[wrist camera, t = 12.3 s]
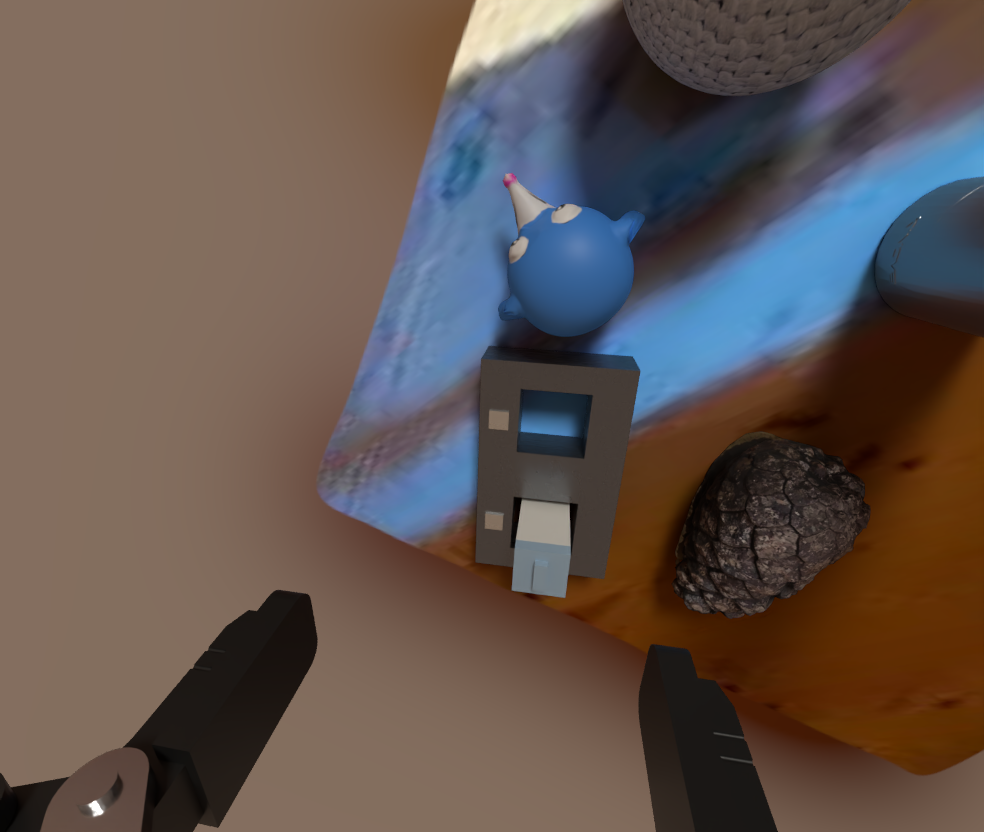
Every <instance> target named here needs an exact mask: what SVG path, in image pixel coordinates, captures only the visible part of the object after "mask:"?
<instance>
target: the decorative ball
mask: <svg viewBox="0 0 984 832" xmlns="http://www.w3.org/2000/svg"><path fill="white" fill-rule="evenodd" d="M622 1H623V5H624V8H625V11H626V14H627V17H628V20H629V22H630V25H631V27H632V29H633V32H634V34H635V35H636V37H637V39H638V41H639V42H640V44H641V46H642V47H643V49H644V50H645V52H646V53H647V54H648V55H649V57H650V58H651V59H652V60H653V61H654V63H655V64H656V65H657V66H658V67H659V68H660V69H662V70H663V71H664V72H665V73H666V74H668V75H669V76H670V77H672V78H673V79H675V80H676V81H678V82H680V83H682V84H684V85H686V86H688V87H690V88H693V89H696V90H699V91H702V92H706V93H710V94H716V95H723V96H744V95H753V94H759V93H764V92H769V91H773V90H777V89H780V88H783V87H786V86H789V85H792V84H795V83H797V82H800V81H802V80H804V79H807V78H809V77H811V76H813V75H815V74H817V73H819V72H821V71H823V70H825V69H826V68H828V67H830V66H832V65H833V64H835V63H837V62H838V61H840V60H841V59H843V58H845V57H846V56H848V55H849V54H850V53H852V52H853V51H855V50H856V49H857V48H859V47H860V46H861V45H863V44H864V43H865V42H867V41H868V40H869V39H870V38H872V37H873V36H874V35H875V34H877V33H878V32H879V31H880V30H881V29H882V28H883V27H885V26H886V25H887V24H888V23H889V22H890V21H891V20H892V19H893V18H894V17H895V16H896V15H897V14H898V13H899V12H901V10H902V9H903V8H904V7H905V6H906V5H907V4H908V3H909V2H910V1H911V0H622Z"/></svg>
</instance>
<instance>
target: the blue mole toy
mask: <svg viewBox="0 0 984 832" xmlns="http://www.w3.org/2000/svg"><path fill="white" fill-rule="evenodd" d="M503 182H504V185H505V187H506V188H507V189H508V190H509V192H510V196H511V199H512V203H513V207H514V212H515V217H516V223H517V228H518V239H517V240H515V241H514V242H513V243H512V245H511V247H510V250H509V263H508V283H509V288H510V292H511V296H510V298H509V299H507V300H505V301H503V302H502V303H501V304H500V306H499V308H498V311H499V316H500V319H501V320H512V319H519V318H526V319H527V320H528V321H529V322H530V323H531V324H533V325H534V326H535V327H537V328H538V329H540V330H542V331H543V332H546V333H548V334H551V335H555V336H561V337H571V336H577V335H582V334H585V333H588V332H590V331H592V330H595V329H596V328H598V327H600V326H602V325H603V324H604V323H606V322H607V321H608V320H610V319H611V318H612V317H613V316H614V315H615V314H616V313H617V312H618V311H619V310H620V308H621V307H622V306H623V304H624V303H625V301H626V299H627V297H628V295H629V293H630V291H631V288H632V284H633V278H634V264H633V258H632V254H631V250H630V247H629V244H630V243H631V241H632V240H633V238H634V237H635V235H636V234H637V232H638V231H639V229H640V228H641V226H642V225H643V223H644V221H645V216H644V215H643V214H641V213H639V212H637V210H632V211H629V212H627V213H625V214H624V215H623V216H622V217H621V218H620V219H619V220H618V221H612V220H611V219H609V218H608V217H607V216H605V215H604V214H602V213H601V212H599V211H597V210H595V209H592V208H589V207H584V206H576V205H574V204H564V205H561V206H560V207H558V208H556V207H553V206H551V205H549V204H548V203H546V202H545V201H543V200H542V199H540V198H538V197H537V196H535V195H534V194H532V193H531V192H530V191H528V190H527V189H526V188H524V187H523V186H522V185H521V184H519V182H518V181H517V178H516V176H515V175H514V174H513V173H510V174H506V175H505V177H504V179H503Z"/></svg>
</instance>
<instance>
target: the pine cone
mask: <svg viewBox="0 0 984 832" xmlns="http://www.w3.org/2000/svg"><path fill="white" fill-rule="evenodd" d="M864 496H865V484H864V482H863V481H862V479H860V478H859V477H858V476H856V475H854V474H852V473H849V472H848V471H847V470H846V468H845V466H844V465H843V461H842V459H841V458H840V457H838V456H830V455H826V454H824V453H823V451H822V449H819V448H816V447H813V446H810V445H806V444H803V443H799V442H795V441H791V440H787V439H782V438H780V437H778V436H775V435H773V434H769V433H765V432H755V433H748V434H745V435H744V436H742V437H741V438H739V439H738V440H736V441H735V442H733V443H732V444H730V445H729V447H728V448H727V449H726V450H725V451H724V452H723V453H722V454H721V455H720V456H719V457H718V458H717V459H716V460H715V461H714V462H713V463H712V465H711V467H710V469H709V471H708V472H707V474H706V477H705V479H704V481H703V482H702V484H701V486H700V487H699V489H698V491H697V493H696V495H695V497H694V498H693V501H692V503H691V506H690V509H689V512H688V516H687V518H686V521H685V524H684V527H683V530H682V533H681V536H680V539H679V542H678V545H677V548H676V551H675V554H676V557H677V558H678V559H676V567H675V568H676V576H677V578H676V579H674V581H673V582H672V586H673V587H674V592H675V593H676V594H677V595H678V596H679V597H681V598H683V599H684V603H685V605H686V606H687V608H688V609H690V610H692V611H698V612H700V613H703V614H707V613H711V614H716V613H717V612H718V611H720V612H722V613H723V614H724V615H725V616H726V617H727V618H729V619H731V618H738V617H742V616H743V615H744V614H745V613H746V614H747V615H750V616H751V615H753V614H755V613H757V612H758V613H759V612H764V611H765V610H766V609H767V608H768V607H769V606H770V605H771V603H772V602H773V600H774V598H775V597H777V598H780V599H784V598H789V597H790V596H791V595H795V594H797V592H798V590H802V589H803V587H804V586H805V585H806V584H808V583H810V582H811V581H813V580H814V576H815V575H816V574H818V573H819V572H820V571H821V570H822V569H824V568H826V567H827V565H830V564H834V563H835V562H836V561H837V560H838V559H840V558H841V557H842V556H844V555H845V554H846V553H847V552H850V551H852V550H853V544H854V540H855V538H856V536H857V535H858V534H859V533H860V532H861V531H862V529H864V528H866V527H867V523H868V521H869V518H870V511H871V510H870V505H868V504H865V503H864V501H863V499H864ZM679 559H681V560H682V561H681V562H680V561H679ZM744 612H745V613H744Z"/></svg>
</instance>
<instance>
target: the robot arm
mask: <svg viewBox="0 0 984 832" xmlns="http://www.w3.org/2000/svg"><path fill="white" fill-rule="evenodd" d="M875 280H876V284H877V288H878V291H879V293H880V294H881V296H882V298H883V300H884V301H885V302H886V303H887V304H888V305H889V306H890V307H891V308H892V309H893V310H895V311H897V312H899V313H901V314H903V315H905V316H909V317H912V318H916V319H919V320H923V321H927V322H930V323H934V324H937V325H941V326H944V327H948V328H951V329H954V330H958V331H962V332H965V333H969V334H973V335H976V336H980V337H984V177H976V178H970V179H964V180H958V181H955V182H952V183H949V184H946V185H943V186H941V187H939V188H937V189H935V190H933V191H931V192H929V193H928V194H926V195H924V196H922V197H921V198H920V199H918V200H917V201H916V202H915V203H913V204H912V205H911V206H909V207H908V208H907V209H906V210H905V211H904V212H903V213H902V214H901V215H900V216H899V217H898V218H897V219H896V221H895V222H894V223H893V225H892V226H891V228H890V229H889V231H888V232H887V233H886V235H885V237H884V239H883V241H882V244H881V246H880V248H879V251H878V255H877V259H876V263H875ZM316 649H317V633H316V627H315V621H314V616H313V610H312V604H311V599H310V596H309V595H308V594H304V593H297V592H290V591H283V590H276V591H274V592H273V593H272V594H271V595H270V596H269V597H268V598H267V599H266V601H265V602H264V603H263V604H262V606H261V607H260V608H259V609H258V611H251V610H248V611H247V612H245V613H244V614H243V615H241V616H240V617H238V618H237V619H236V620H234V621H233V622H232V623H230V624H229V625H227V626H226V627H225V628H224V629H223V631H222V632H221V633H220V634H219V636H218V637H217V638H216V639H215V641H213V643H212V644H211V645H210V646H209V649H208V651H205V652H204V653H203V655H202V656H201V657H200V658H199V659H198V661H197V662H196V663H195V665H194V668H193V669H190V670H189V671H188V672H187V674H186V675H185V676H184V677H183V678H182V680H181V681H180V682H179V683H178V684H177V686H176V687H175V688H174V689H173V690H172V692H171V693H170V694H169V695H168V696H167V698H166V699H165V700H164V701H163V702H162V703H161V705H160V706H159V707H158V708H157V709H156V711H155V712H154V713H153V714H152V715H151V717H150V718H149V719H148V720H147V721H146V723H145V724H144V725H143V726H142V727H141V728H140V730H139V731H138V732H137V733H136V734H135V736H134V737H133V738H132V739H131V740H130V741H129V742H128V743H127V744H126V745H125V746H124V747H123V748H119V749H115V750H112V751H109V752H106V753H104V754H102V755H100V756H98V757H96V758H94V759H93V760H91V761H89V762H88V763H86V764H85V765H83V766H82V767H81V768H80V769H78V770H77V771H76V772H75V773H74V774H73V775H71V776H70V777H66V778H61V779H55V780H50V781H45V782H39V783H34V784H28V785H22V786H17V787H10V786H9V784H8V783H7V781H6V780H5V778H4V777H3V775H2V774H1V773H0V832H193V831H194V829H195V827H196V826H197V824H198V823H199V824H204V825H208V826H213V827H217V828H218V827H219V826H220V824H221V822H222V820H223V819H224V817H225V815H226V813H227V812H228V810H229V808H230V806H231V805H232V803H233V801H234V799H235V798H236V796H237V794H238V792H239V791H240V789H241V787H242V785H243V784H244V782H245V780H246V778H247V777H248V775H249V773H250V771H251V770H252V768H253V766H254V765H255V763H256V761H257V759H258V758H259V756H260V754H261V752H262V751H263V749H264V747H265V745H266V744H267V742H268V740H269V738H270V737H271V735H272V733H273V731H274V730H275V728H276V726H277V724H278V723H279V721H280V719H281V717H282V715H283V714H284V712H285V710H286V708H287V707H288V705H289V703H290V702H291V700H292V698H293V696H294V695H295V693H296V691H297V689H298V687H299V686H300V684H301V682H302V681H303V679H304V677H305V675H306V674H307V672H308V670H309V668H310V667H311V665H312V662H313V660H314V657H315V654H316ZM639 720H640V728H641V735H642V741H643V748H644V754H645V760H646V768H647V774H648V781H649V788H650V794H651V801H652V808H653V814H654V821H655V828H656V832H778V831H777V828H776V825H775V823H774V820H773V817H772V814H771V811H770V808H769V805H768V802H767V799H766V797H765V794H764V791H763V788H762V785H761V783H760V780H759V777H758V774H757V771H756V768H755V766H753V763H752V757H751V754H750V751H749V748H748V745H747V742H746V741H745V740H744V734H743V731H742V728H741V725H740V723H739V719H738V717H737V714H736V711H735V708H734V706H733V705H732V703H731V702H730V701H729V699H728V698H727V696H726V695H725V694H724V692H723V691H722V690H721V688H720V687H719V686H718V684H717V683H716V681H712V680H706V679H699V678H697V674H696V671H695V667H694V664H693V661H692V657H691V655H690V652H689V651H688V650H687V649H683V648H676V647H669V646H662V645H655V644H651V646H650V648H649V651H648V656H647V660H646V664H645V669H644V673H643V677H642V681H641V686H640V691H639Z"/></svg>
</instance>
